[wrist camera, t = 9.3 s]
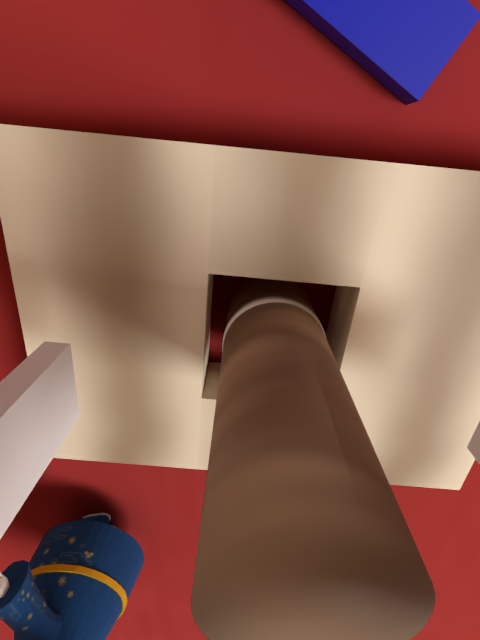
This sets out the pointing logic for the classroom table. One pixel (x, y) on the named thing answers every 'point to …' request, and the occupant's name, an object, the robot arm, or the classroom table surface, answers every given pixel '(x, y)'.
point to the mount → (394, 36)
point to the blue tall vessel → (72, 582)
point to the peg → (297, 493)
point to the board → (244, 261)
